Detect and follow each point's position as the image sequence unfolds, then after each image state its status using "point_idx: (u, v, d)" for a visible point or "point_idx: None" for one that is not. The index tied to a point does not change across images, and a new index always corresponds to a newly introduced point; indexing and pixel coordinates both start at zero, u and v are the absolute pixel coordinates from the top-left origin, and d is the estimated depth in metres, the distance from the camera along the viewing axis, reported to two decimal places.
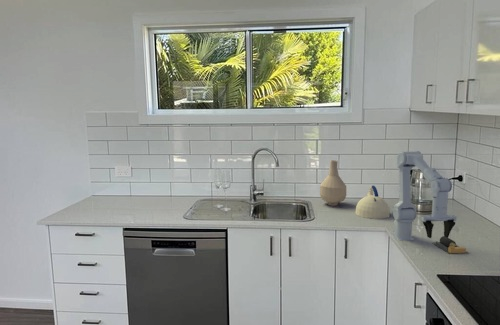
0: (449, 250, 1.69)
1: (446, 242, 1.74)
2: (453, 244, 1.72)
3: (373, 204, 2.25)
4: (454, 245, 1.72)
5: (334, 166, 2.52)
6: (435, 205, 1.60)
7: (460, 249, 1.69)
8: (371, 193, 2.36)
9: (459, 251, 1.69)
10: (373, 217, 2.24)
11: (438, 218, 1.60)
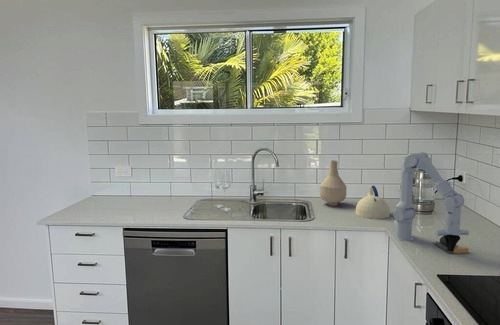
0: None
1: None
2: None
3: (373, 204, 2.25)
4: None
5: (334, 166, 2.52)
6: (451, 220, 1.65)
7: (463, 249, 1.69)
8: (371, 193, 2.36)
9: (462, 251, 1.69)
10: (373, 217, 2.24)
11: (451, 233, 1.65)
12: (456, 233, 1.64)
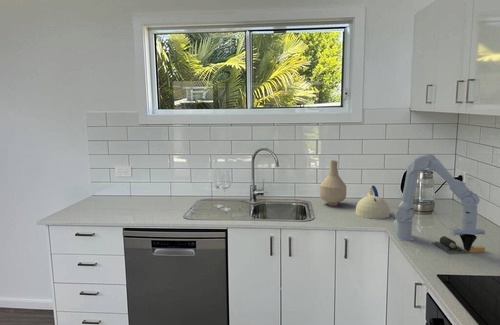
0: None
1: (446, 242, 1.74)
2: (453, 244, 1.72)
3: (373, 204, 2.25)
4: (454, 245, 1.72)
5: (334, 166, 2.52)
6: (469, 220, 1.65)
7: (479, 248, 1.69)
8: (371, 193, 2.36)
9: (478, 251, 1.69)
10: (373, 217, 2.24)
11: (468, 232, 1.66)
12: (473, 232, 1.65)
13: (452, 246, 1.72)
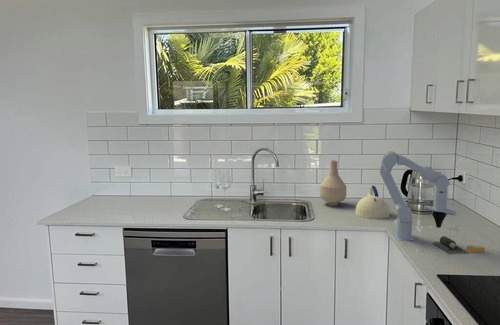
0: (468, 249, 1.70)
1: (446, 242, 1.74)
2: (453, 244, 1.72)
3: (373, 204, 2.25)
4: (454, 245, 1.72)
5: (334, 166, 2.52)
6: (443, 199, 1.79)
7: (479, 248, 1.69)
8: (371, 193, 2.36)
9: (478, 251, 1.69)
10: (373, 217, 2.24)
11: (433, 208, 1.82)
12: (436, 209, 1.80)
13: (452, 246, 1.72)
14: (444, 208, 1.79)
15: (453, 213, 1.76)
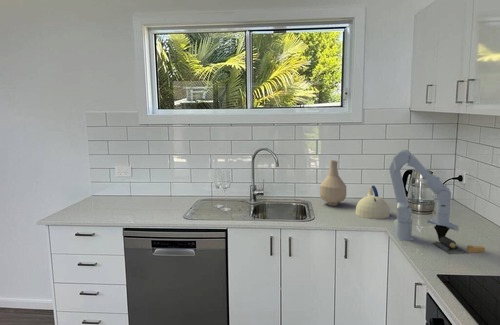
0: (468, 249, 1.70)
1: (446, 242, 1.74)
2: (453, 244, 1.72)
3: (373, 204, 2.25)
4: (454, 245, 1.72)
5: (334, 166, 2.52)
6: (444, 213, 1.77)
7: (479, 248, 1.69)
8: (371, 193, 2.36)
9: (478, 251, 1.69)
10: (373, 217, 2.24)
11: (435, 222, 1.80)
12: (437, 223, 1.79)
13: (452, 246, 1.72)
14: (446, 222, 1.77)
15: (454, 227, 1.74)
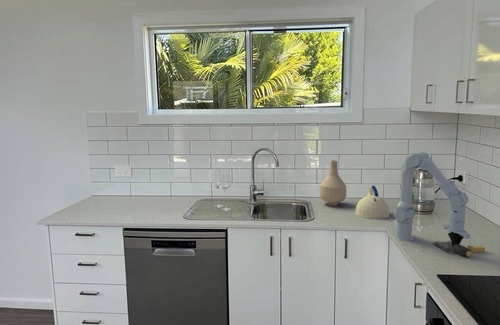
0: None
1: (461, 251, 1.64)
2: (469, 253, 1.62)
3: (373, 204, 2.25)
4: (470, 253, 1.63)
5: (334, 166, 2.52)
6: (456, 219, 1.66)
7: (479, 248, 1.69)
8: (371, 193, 2.36)
9: (478, 251, 1.69)
10: (373, 217, 2.24)
11: (449, 228, 1.71)
12: (449, 229, 1.69)
13: (469, 255, 1.62)
14: (458, 229, 1.67)
15: (465, 236, 1.63)
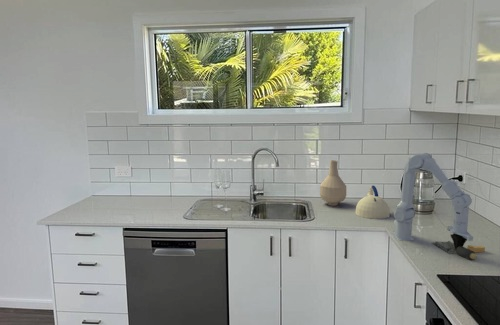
0: None
1: (465, 254, 1.62)
2: (473, 255, 1.60)
3: (373, 204, 2.25)
4: (474, 255, 1.60)
5: (334, 166, 2.52)
6: (459, 221, 1.64)
7: (479, 248, 1.69)
8: (371, 193, 2.36)
9: (478, 251, 1.69)
10: (373, 217, 2.24)
11: (451, 230, 1.69)
12: (452, 231, 1.67)
13: (473, 257, 1.60)
14: (461, 231, 1.65)
15: (467, 237, 1.61)
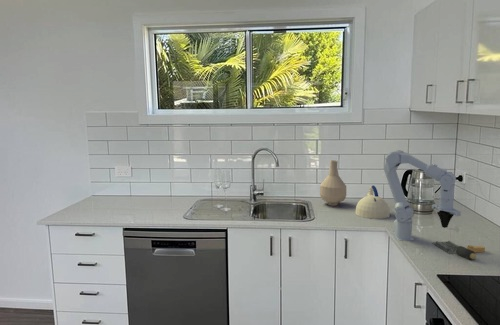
0: None
1: (465, 254, 1.62)
2: (473, 255, 1.60)
3: (373, 204, 2.25)
4: (474, 255, 1.60)
5: (334, 166, 2.52)
6: (447, 198, 1.72)
7: (479, 248, 1.69)
8: (371, 193, 2.36)
9: (478, 251, 1.69)
10: (373, 217, 2.24)
11: (438, 207, 1.76)
12: (439, 208, 1.74)
13: (473, 257, 1.60)
14: (449, 207, 1.73)
15: (456, 213, 1.69)
